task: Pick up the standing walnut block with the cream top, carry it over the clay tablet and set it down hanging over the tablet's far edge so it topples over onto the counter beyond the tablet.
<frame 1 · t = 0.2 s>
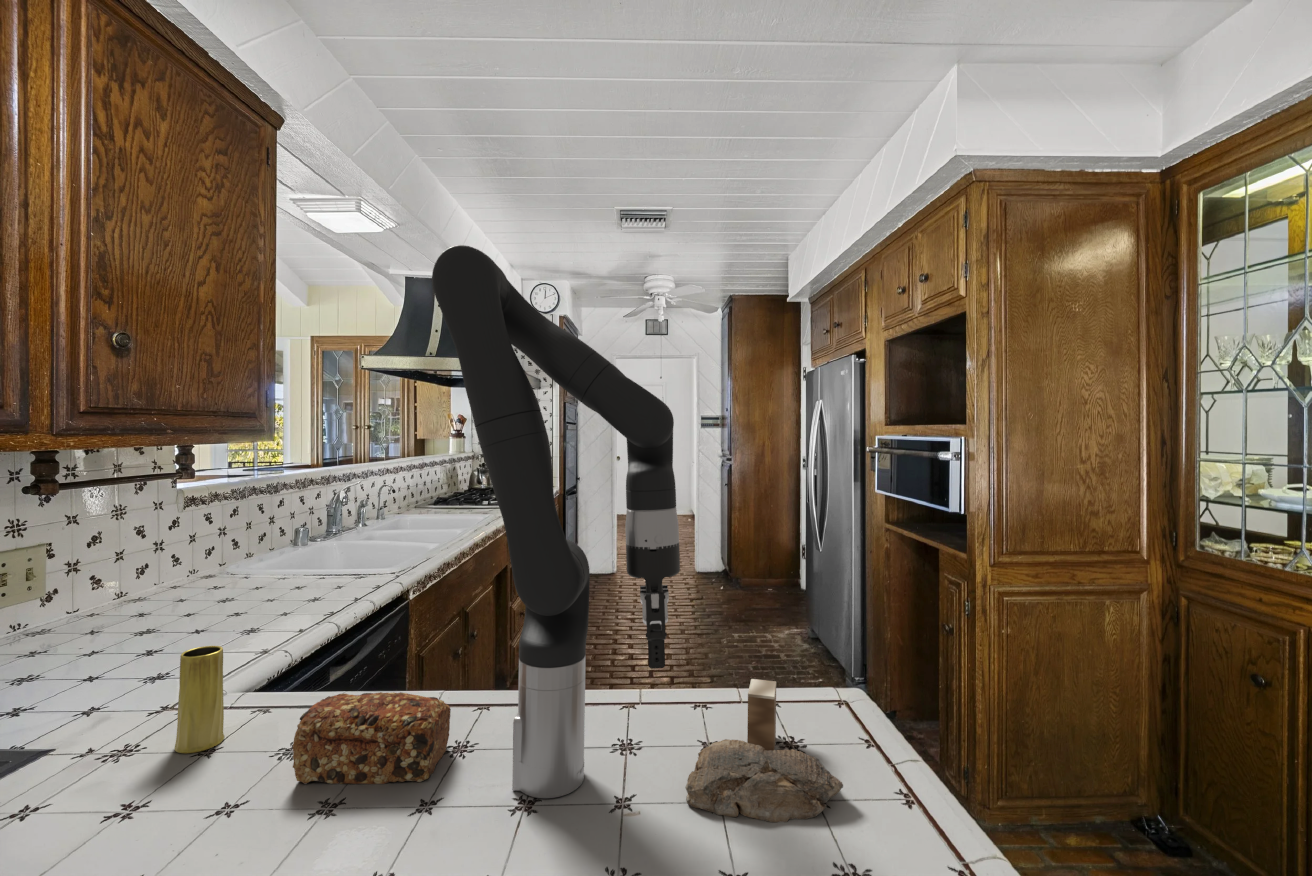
hand: (656, 655, 82), 17 cm above the worktop, tool pointing down, fingers open, 8 cm apart
walnut block: (761, 744, 92), on the worktop
vase: (199, 745, 90), on the worktop
clay tablet: (765, 795, 80), on the worktop
bread: (376, 767, 85), on the worktop
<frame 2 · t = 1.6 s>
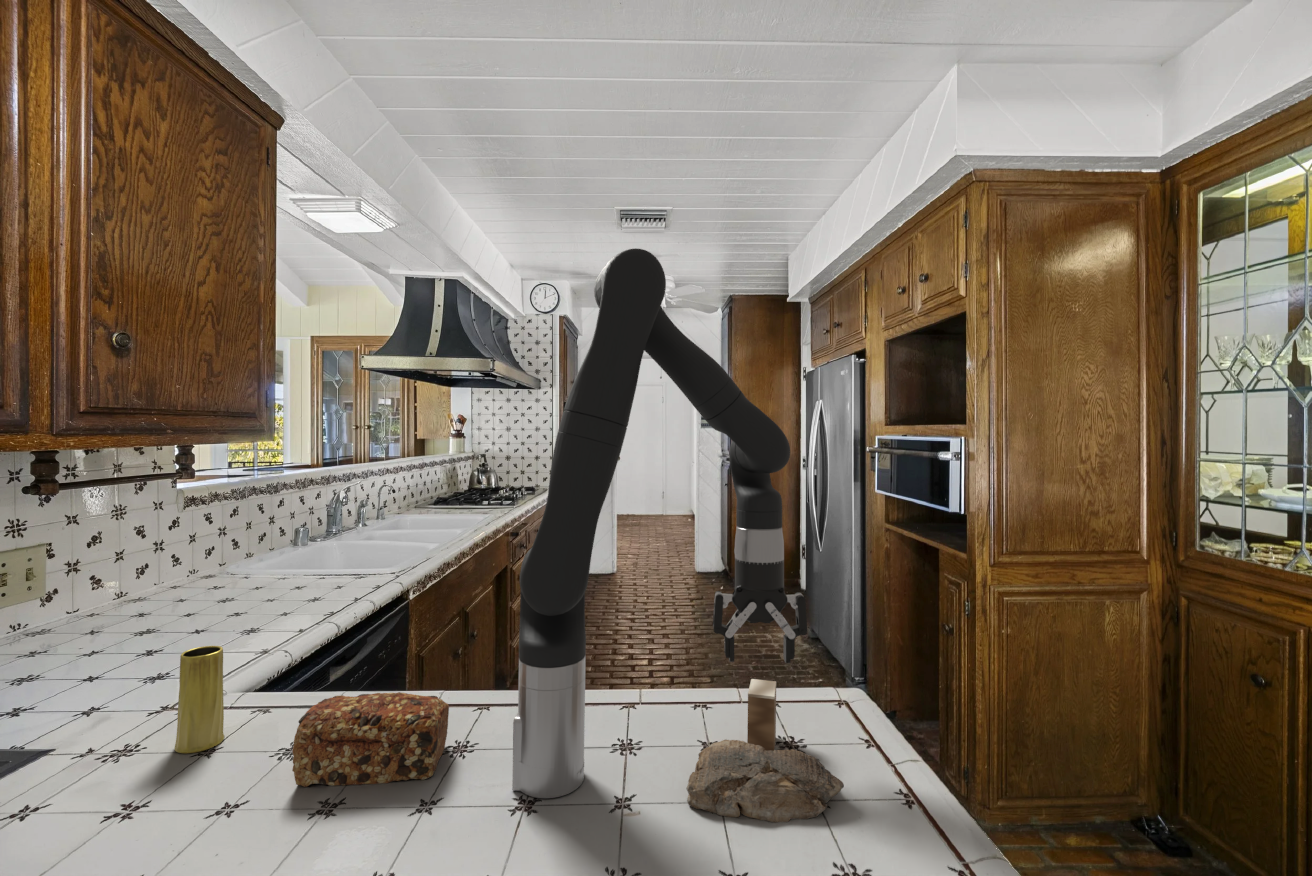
hand: (759, 660, 91), 14 cm above the worktop, tool pointing down, fingers open, 8 cm apart
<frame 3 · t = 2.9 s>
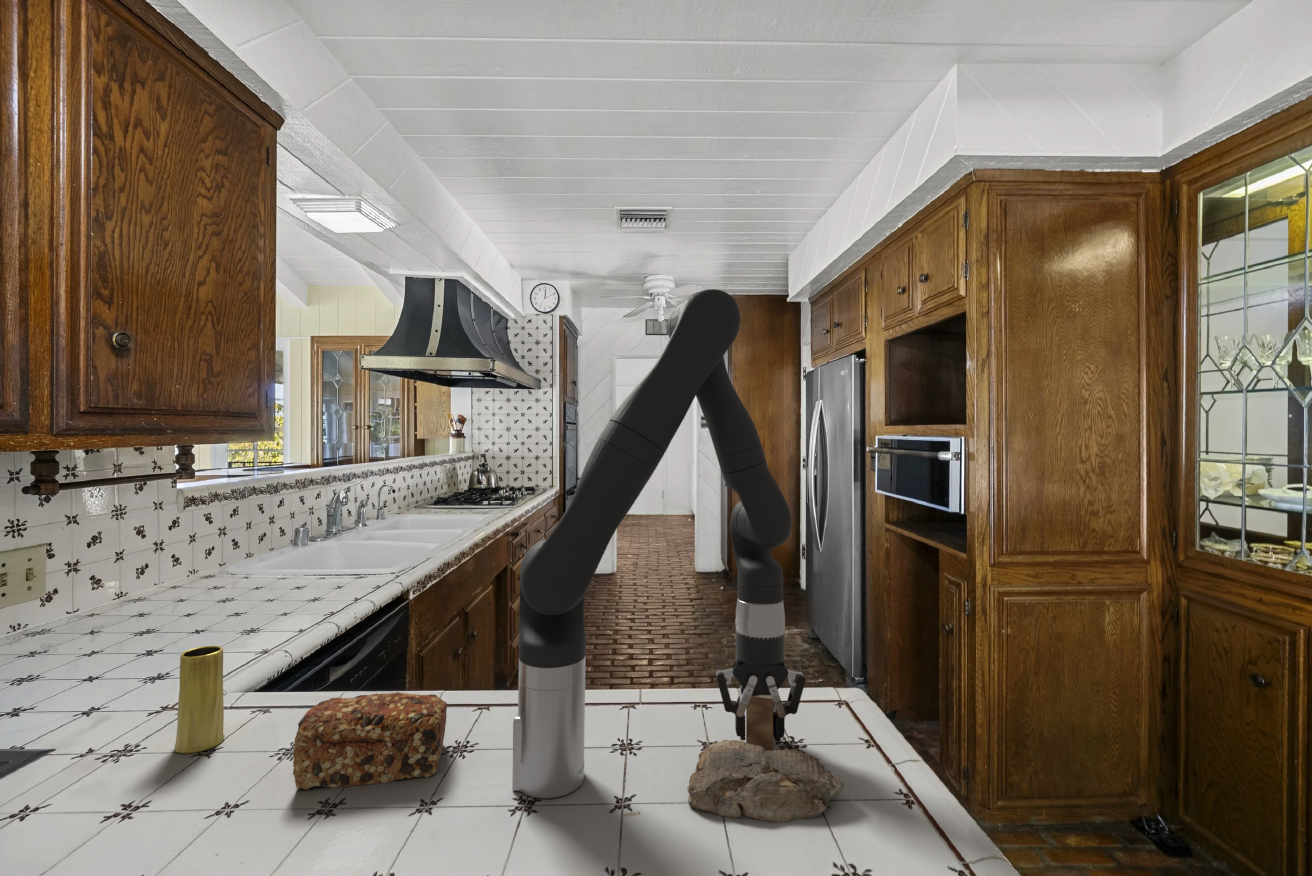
hand: (759, 737, 91), 2 cm above the worktop, tool pointing down, fingers open, 4 cm apart
walnut block: (760, 744, 93), on the worktop, touching gripper
everything else where it was.
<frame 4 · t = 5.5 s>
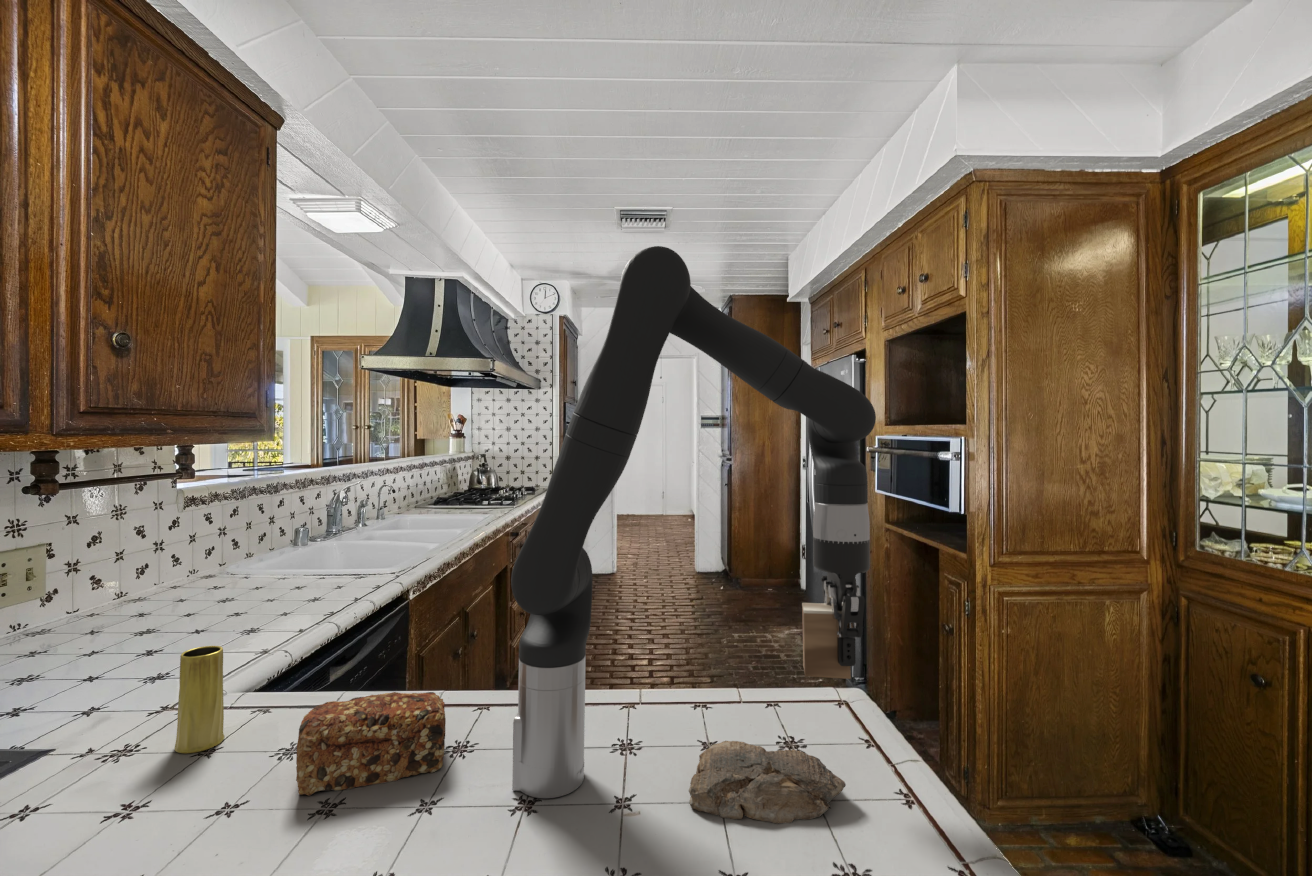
hand: (841, 657, 82), 18 cm above the worktop, tool pointing down, fingers closed on walnut block, 4 cm apart
walnut block: (826, 671, 82), point 16 cm above the worktop, touching gripper
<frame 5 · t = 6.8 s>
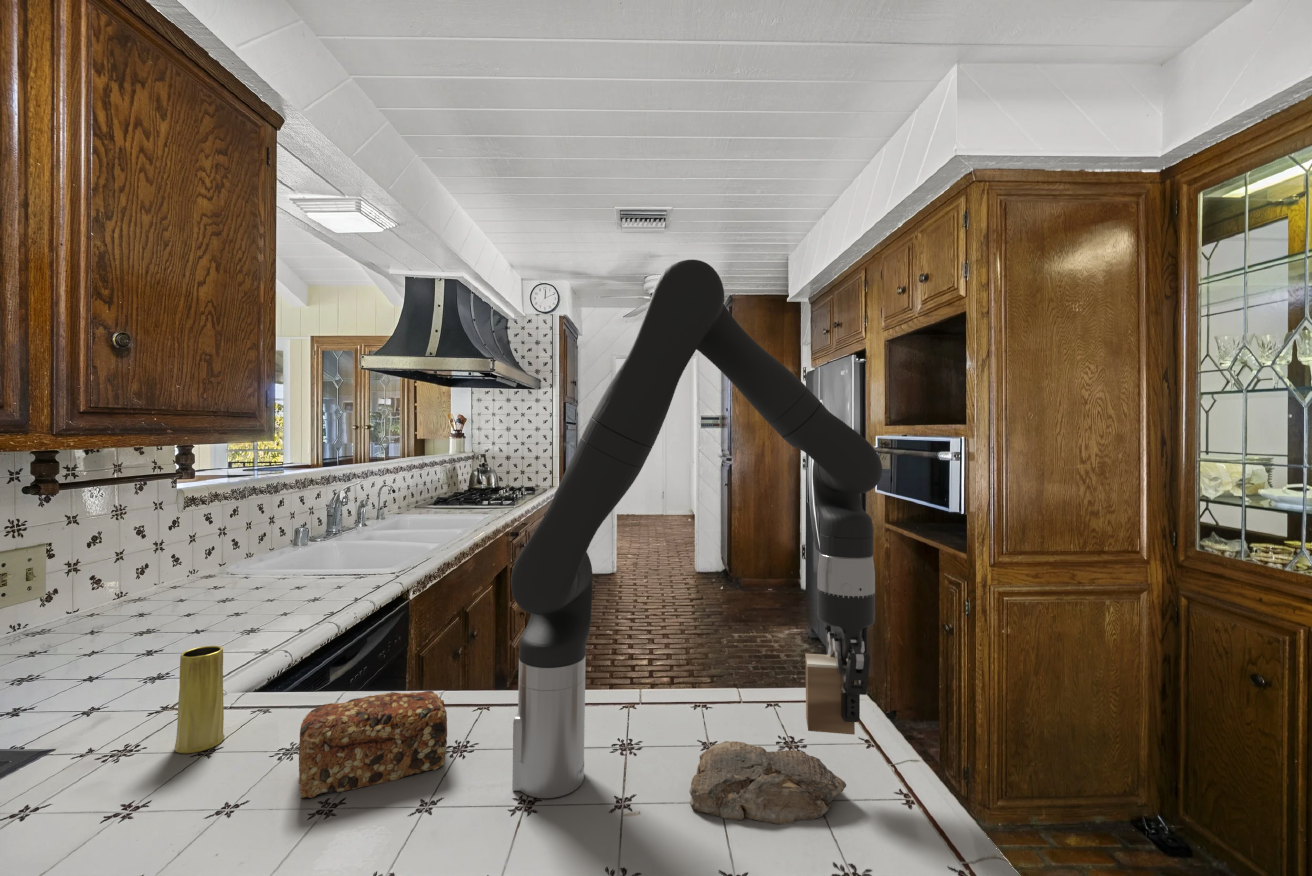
hand: (845, 711, 80), 11 cm above the worktop, tool pointing down, fingers closed on walnut block, 4 cm apart
walnut block: (829, 725, 80), point 9 cm above the worktop, touching gripper
when the fingers open (8 cm above the worktop, at t = 7.8 s): walnut block drops 2 cm and tips over, resting on clay tablet.
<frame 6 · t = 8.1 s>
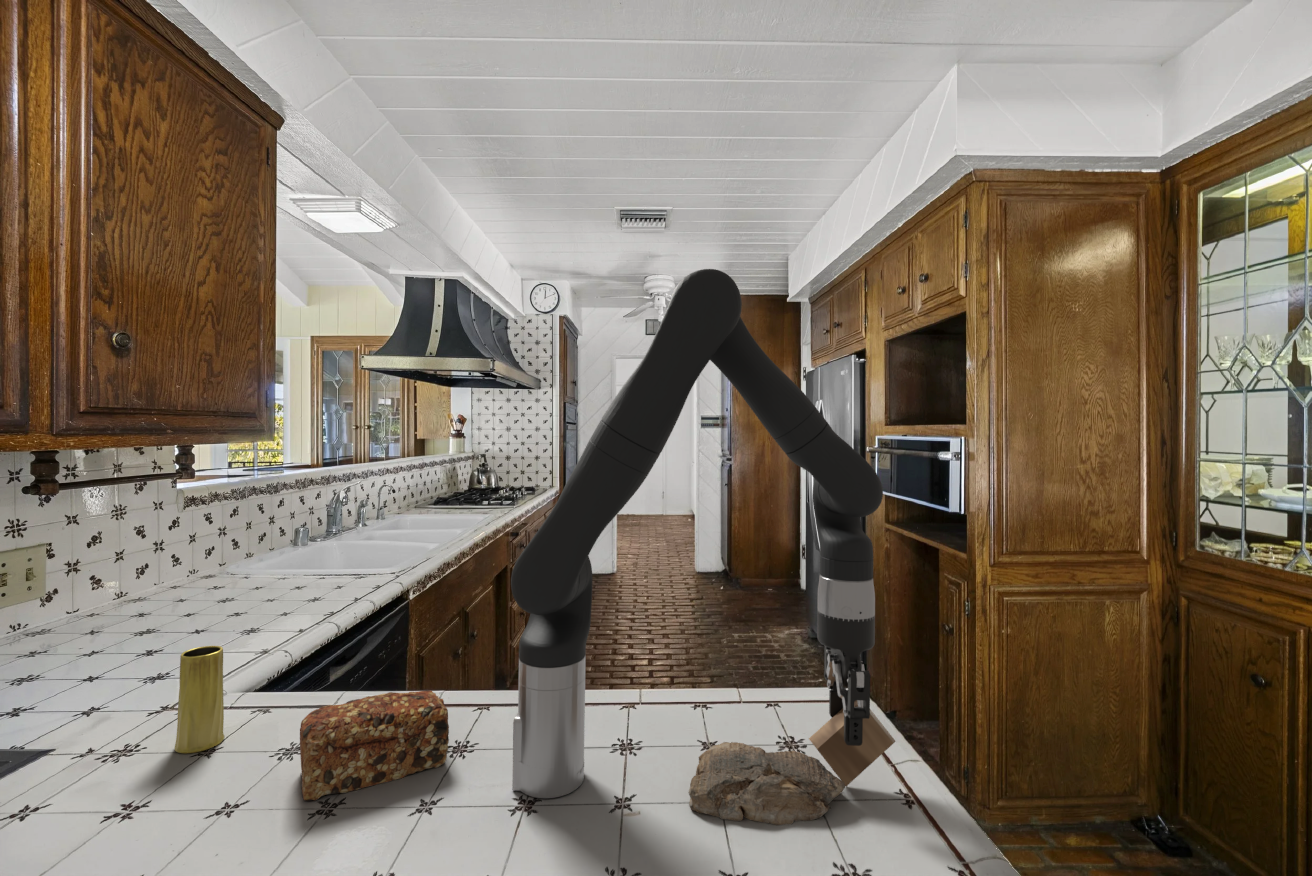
hand: (844, 729, 80), 8 cm above the worktop, tool pointing down, fingers open, 7 cm apart
walnut block: (826, 761, 81), point 4 cm above the worktop, tilted 52°, touching clay tablet
clay tablet: (767, 798, 79), on the worktop, touching walnut block
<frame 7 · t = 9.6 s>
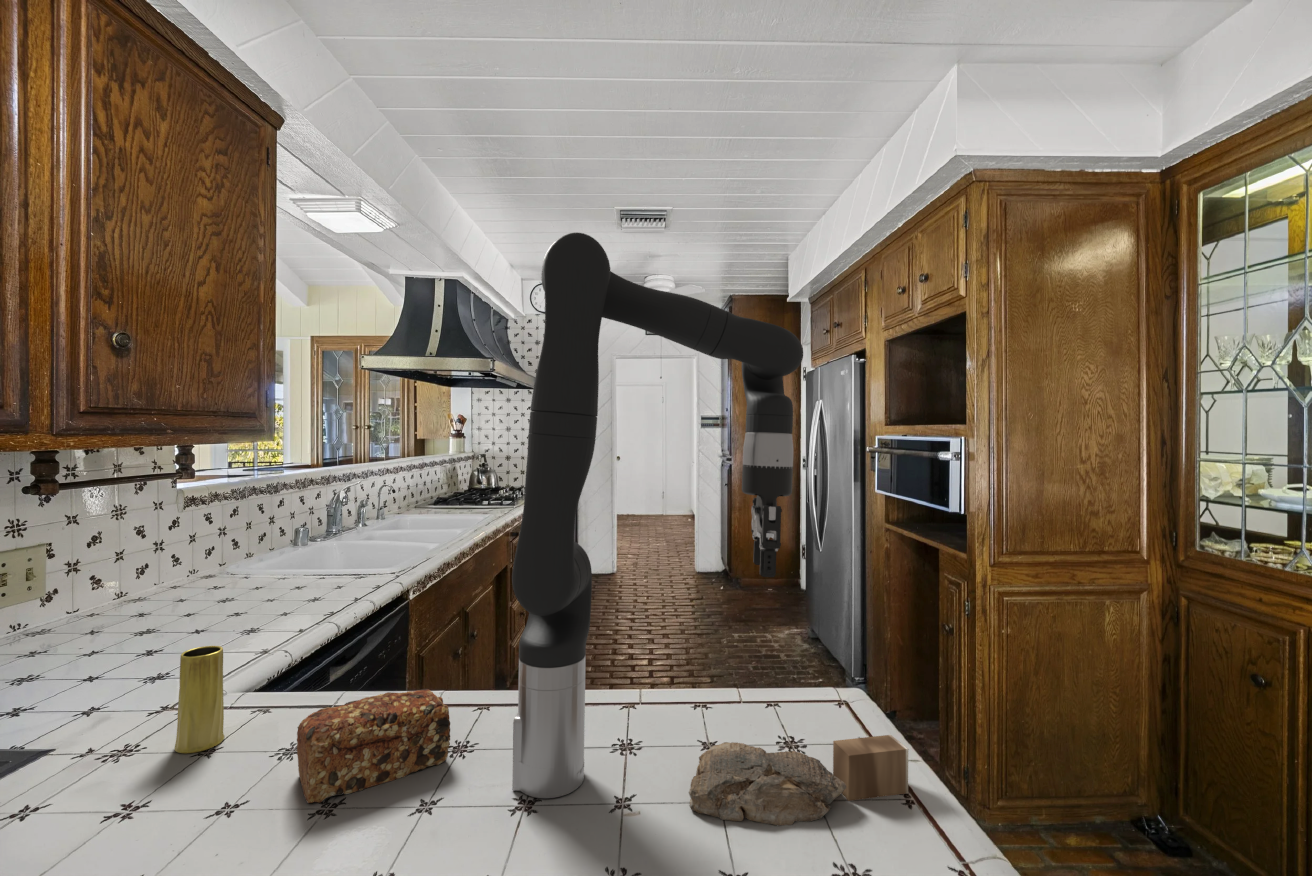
hand: (763, 570, 89), 28 cm above the worktop, tool pointing down, fingers open, 8 cm apart
walnut block: (840, 769, 80), point 3 cm above the worktop, tilted 90°
clay tablet: (768, 798, 79), on the worktop
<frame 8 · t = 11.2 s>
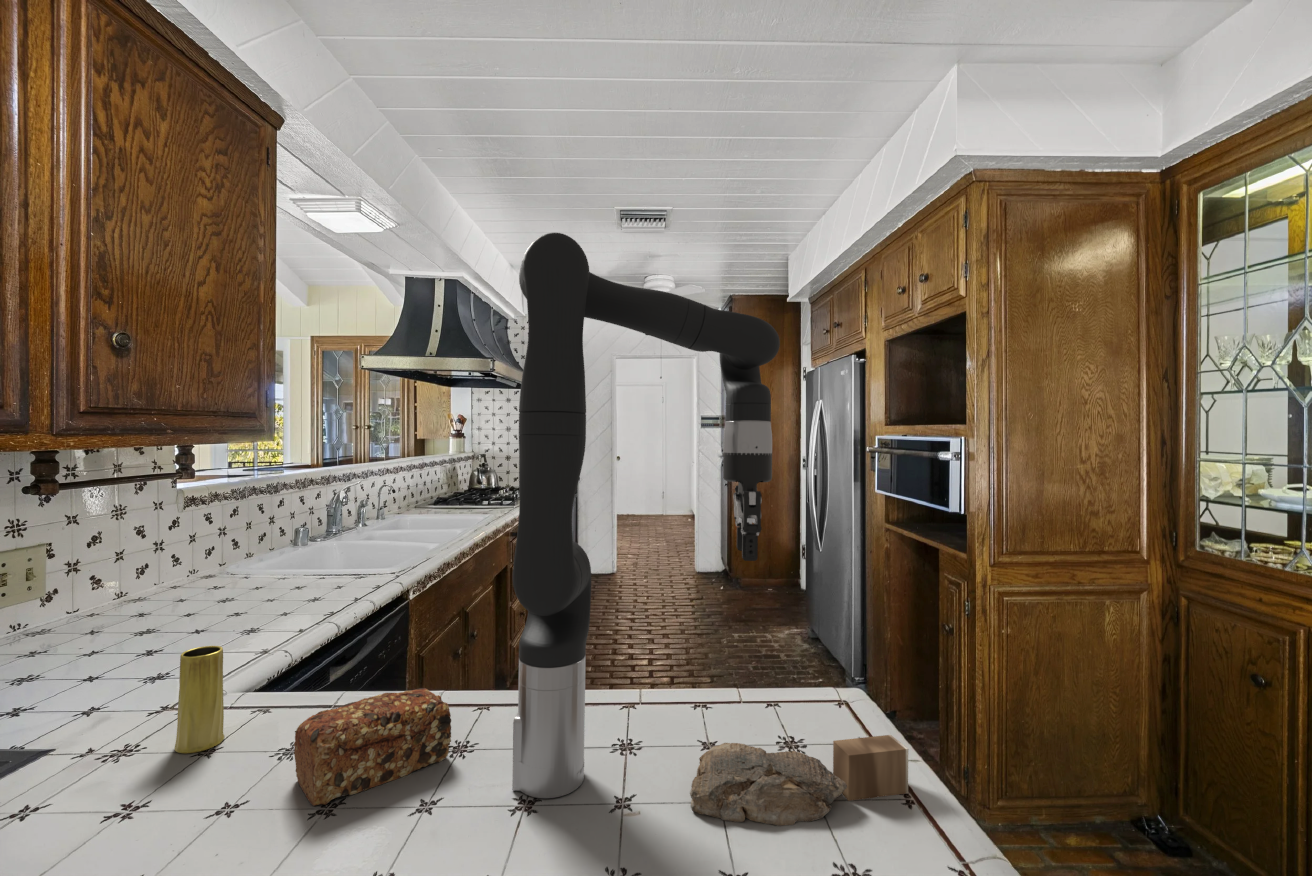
hand: (746, 555, 91), 30 cm above the worktop, tool pointing down, fingers open, 8 cm apart
at the end: walnut block tilted 90°; walnut block inside the target area (7.1 cm from its centre), point 3.0 cm above the worktop; the gripper is holding nothing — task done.
